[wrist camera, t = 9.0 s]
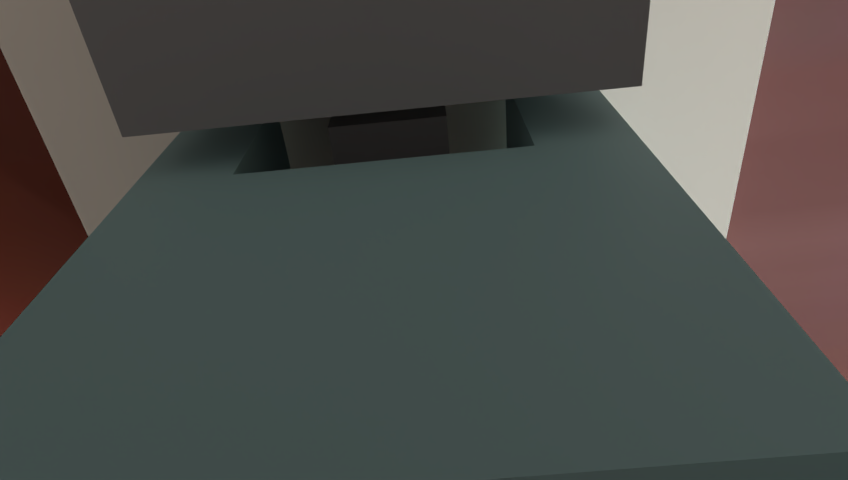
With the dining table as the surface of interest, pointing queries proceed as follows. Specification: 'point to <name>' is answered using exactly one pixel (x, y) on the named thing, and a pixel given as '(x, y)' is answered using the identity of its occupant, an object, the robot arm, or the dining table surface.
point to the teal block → (416, 323)
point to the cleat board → (656, 111)
